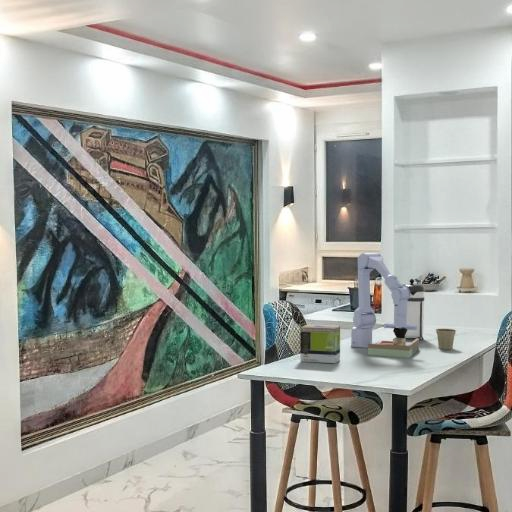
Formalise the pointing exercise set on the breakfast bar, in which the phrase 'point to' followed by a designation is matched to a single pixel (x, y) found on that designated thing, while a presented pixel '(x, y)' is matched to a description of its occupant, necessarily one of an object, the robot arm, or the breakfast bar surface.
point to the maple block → (399, 341)
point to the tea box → (320, 343)
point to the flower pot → (445, 338)
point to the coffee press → (415, 309)
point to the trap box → (393, 349)
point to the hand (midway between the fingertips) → (400, 345)
